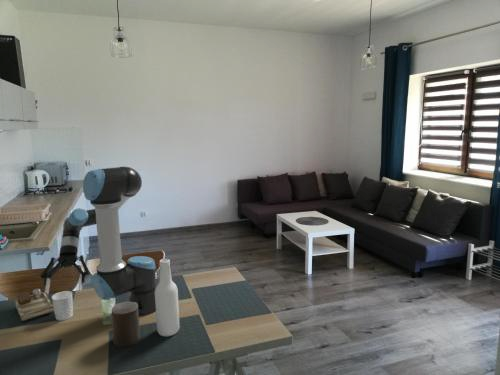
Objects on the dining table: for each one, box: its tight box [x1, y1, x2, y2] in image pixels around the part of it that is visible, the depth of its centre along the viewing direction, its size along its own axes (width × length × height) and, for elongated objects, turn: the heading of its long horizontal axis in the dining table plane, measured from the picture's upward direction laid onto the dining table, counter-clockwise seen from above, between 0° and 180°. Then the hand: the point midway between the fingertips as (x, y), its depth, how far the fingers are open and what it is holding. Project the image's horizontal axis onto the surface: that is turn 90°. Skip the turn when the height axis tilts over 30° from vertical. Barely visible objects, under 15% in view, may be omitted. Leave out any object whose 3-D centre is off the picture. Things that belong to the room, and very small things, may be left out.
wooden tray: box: [14, 291, 54, 322], centre depth 162 cm, size 18×12×4 cm, turn 40°
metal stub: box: [32, 288, 42, 300], centre depth 168 cm, size 3×3×4 cm
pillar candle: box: [111, 301, 141, 348], centre depth 139 cm, size 10×10×15 cm
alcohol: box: [155, 258, 181, 337], centre depth 143 cm, size 9×9×30 cm
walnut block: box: [16, 290, 31, 305], centre depth 164 cm, size 4×4×4 cm
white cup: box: [51, 290, 74, 321], centre depth 157 cm, size 8×8×10 cm
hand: (63, 291), depth 160 cm, fingers open, 13 cm apart
